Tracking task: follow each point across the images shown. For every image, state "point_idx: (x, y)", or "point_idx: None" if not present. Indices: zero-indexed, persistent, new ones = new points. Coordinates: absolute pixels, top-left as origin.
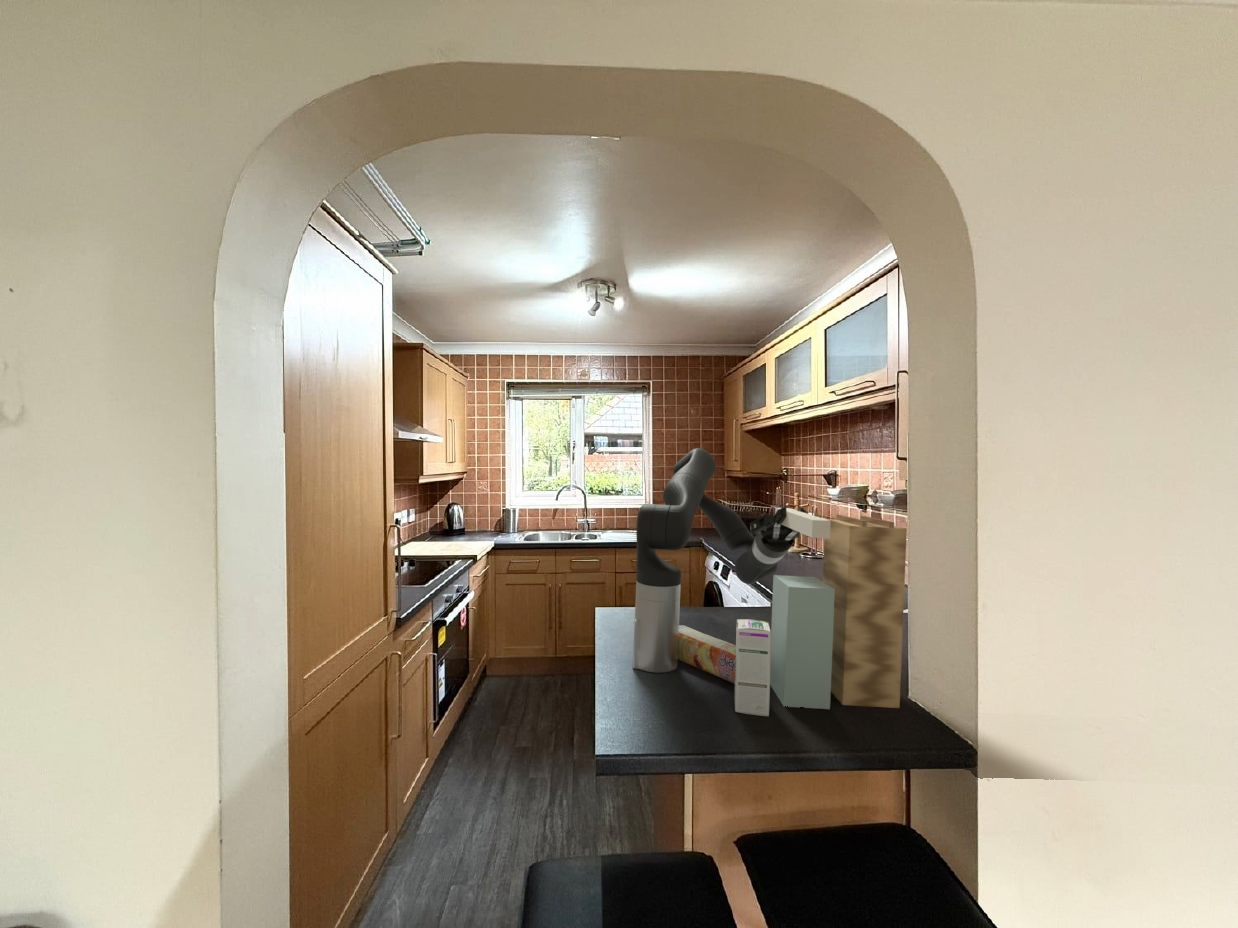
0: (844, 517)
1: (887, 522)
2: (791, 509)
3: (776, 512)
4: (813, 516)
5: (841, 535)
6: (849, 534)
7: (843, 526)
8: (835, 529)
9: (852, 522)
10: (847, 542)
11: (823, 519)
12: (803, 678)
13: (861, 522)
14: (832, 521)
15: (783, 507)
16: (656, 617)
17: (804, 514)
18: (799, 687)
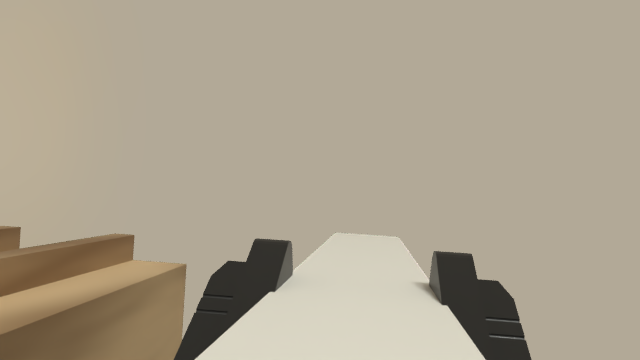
0: (2, 264)
1: (7, 232)
2: (274, 327)
3: (524, 342)
4: (340, 244)
5: (147, 343)
6: (183, 303)
7: (158, 286)
8: (105, 344)
9: (78, 267)
10: (175, 347)
11: (345, 235)
12: None
13: (130, 244)
14: (79, 307)
15: (458, 255)
16: None
17: (353, 253)
18: None
